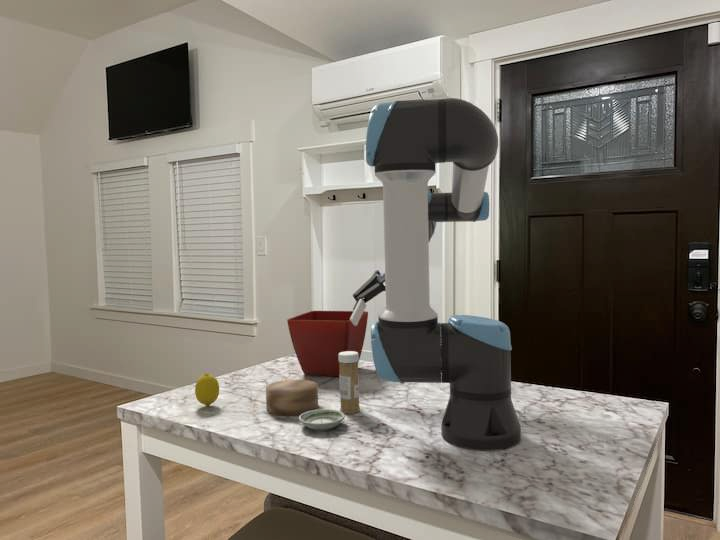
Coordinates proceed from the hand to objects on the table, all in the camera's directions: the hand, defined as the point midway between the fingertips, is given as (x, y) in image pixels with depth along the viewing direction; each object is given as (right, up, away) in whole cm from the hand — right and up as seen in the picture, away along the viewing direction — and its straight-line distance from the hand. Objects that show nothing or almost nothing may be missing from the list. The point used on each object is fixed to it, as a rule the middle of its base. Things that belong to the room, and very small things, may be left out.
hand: (375, 324), depth 130 cm
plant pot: (-13, -17, +29) cm, 36 cm away
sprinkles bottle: (-6, -19, -9) cm, 22 cm away
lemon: (-40, -19, -3) cm, 45 cm away
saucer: (-12, -20, -18) cm, 29 cm away
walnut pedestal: (-20, -19, -5) cm, 28 cm away
